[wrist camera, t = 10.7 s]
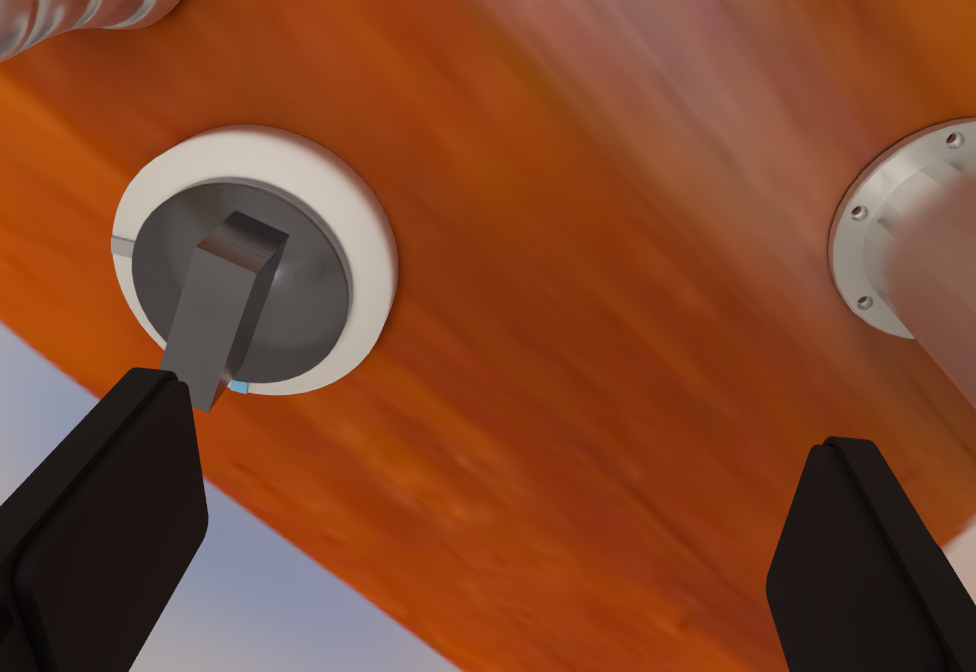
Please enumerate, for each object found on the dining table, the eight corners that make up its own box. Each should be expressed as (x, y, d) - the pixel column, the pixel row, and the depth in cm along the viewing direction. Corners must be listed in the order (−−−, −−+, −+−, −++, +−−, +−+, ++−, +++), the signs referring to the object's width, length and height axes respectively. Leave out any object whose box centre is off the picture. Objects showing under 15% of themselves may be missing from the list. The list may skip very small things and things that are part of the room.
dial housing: (422, 165, 42) (412, 183, 39) (374, 395, 50) (364, 424, 47) (139, 91, 42) (108, 104, 39) (136, 336, 49) (110, 361, 46)
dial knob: (171, 138, 39) (107, 175, 34) (384, 237, 41) (356, 287, 35) (125, 319, 45) (62, 377, 39) (313, 399, 47) (280, 466, 41)
